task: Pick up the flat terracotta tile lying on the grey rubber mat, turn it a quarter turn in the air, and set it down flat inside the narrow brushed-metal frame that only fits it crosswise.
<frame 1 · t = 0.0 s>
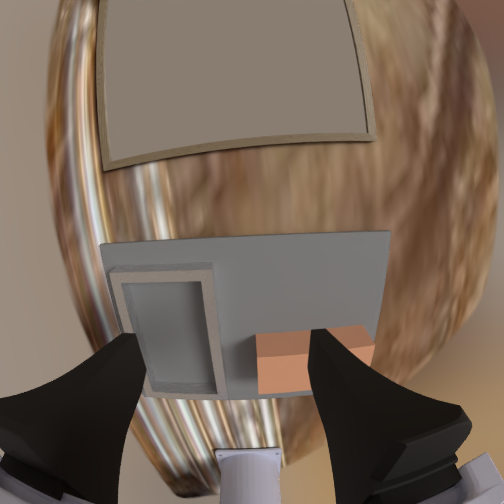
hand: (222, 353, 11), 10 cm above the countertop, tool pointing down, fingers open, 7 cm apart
mat: (249, 331, 23), on the countertop
tray frame: (176, 333, 22), resting on mat
tile: (309, 349, 23), resting on mat
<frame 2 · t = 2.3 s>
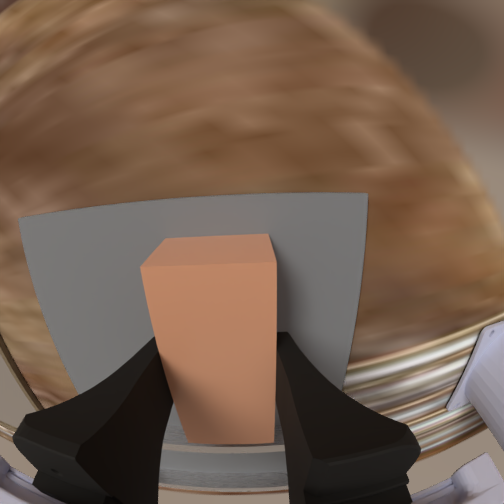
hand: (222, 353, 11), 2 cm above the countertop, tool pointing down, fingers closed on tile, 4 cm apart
mat: (197, 401, 14), on the countertop
tray frame: (211, 452, 16), resting on mat
tile: (224, 334, 12), resting on mat, touching gripper
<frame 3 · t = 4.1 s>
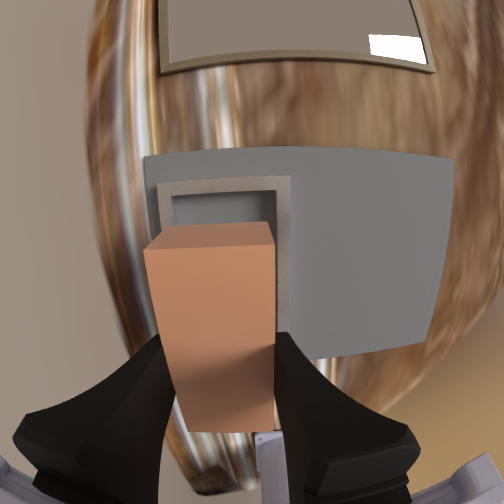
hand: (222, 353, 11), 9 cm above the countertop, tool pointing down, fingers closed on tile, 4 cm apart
mat: (318, 266, 19), on the countertop
tray frame: (230, 271, 19), resting on mat
tile: (224, 321, 13), point 7 cm above the countertop, touching gripper
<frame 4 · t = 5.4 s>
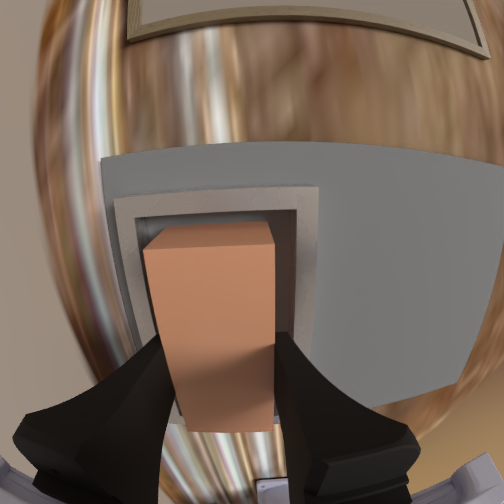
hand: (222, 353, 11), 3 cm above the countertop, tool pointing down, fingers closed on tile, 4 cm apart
mat: (346, 311, 14), on the countertop
tray frame: (225, 318, 14), resting on mat
tile: (224, 321, 13), point 1 cm above the countertop, touching gripper
when the fingers open (3 cm above the countertop, at t = 6.0 s): tile stays where it is, resting on mat.
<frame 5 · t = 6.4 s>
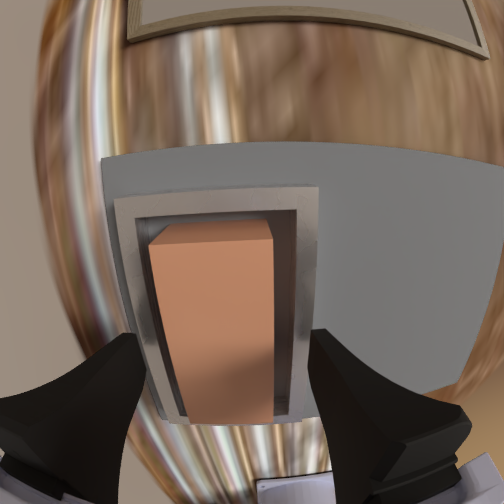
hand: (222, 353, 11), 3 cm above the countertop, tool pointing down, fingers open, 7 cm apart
mat: (346, 311, 14), on the countertop
tray frame: (226, 318, 14), resting on mat
tile: (225, 315, 13), resting on mat
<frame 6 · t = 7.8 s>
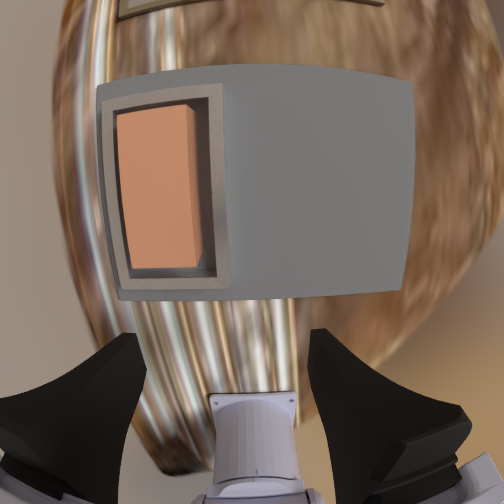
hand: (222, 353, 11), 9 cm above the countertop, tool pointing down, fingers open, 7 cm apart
mat: (261, 184, 18), on the countertop
tray frame: (169, 189, 18), resting on mat
tile: (168, 184, 17), resting on mat
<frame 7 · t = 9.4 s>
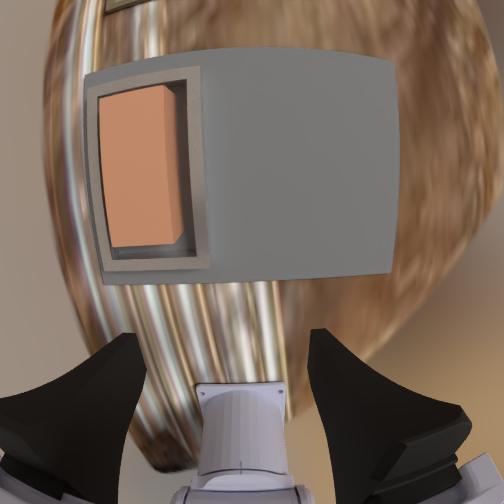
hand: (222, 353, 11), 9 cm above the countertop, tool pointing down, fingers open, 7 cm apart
mat: (241, 163, 18), on the countertop
tray frame: (151, 170, 18), resting on mat
tile: (149, 165, 17), resting on mat
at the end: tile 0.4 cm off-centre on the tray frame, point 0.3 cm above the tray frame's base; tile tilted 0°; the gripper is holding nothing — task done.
